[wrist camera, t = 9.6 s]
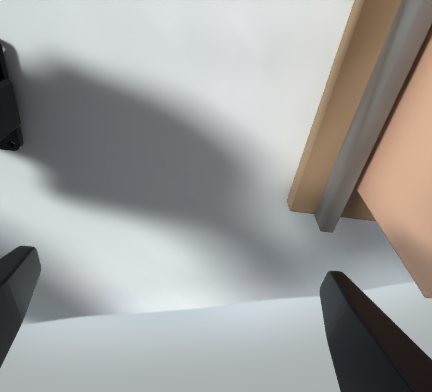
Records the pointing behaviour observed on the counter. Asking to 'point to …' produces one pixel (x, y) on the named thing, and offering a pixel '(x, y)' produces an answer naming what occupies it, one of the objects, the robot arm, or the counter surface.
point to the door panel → (406, 172)
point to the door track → (357, 106)
